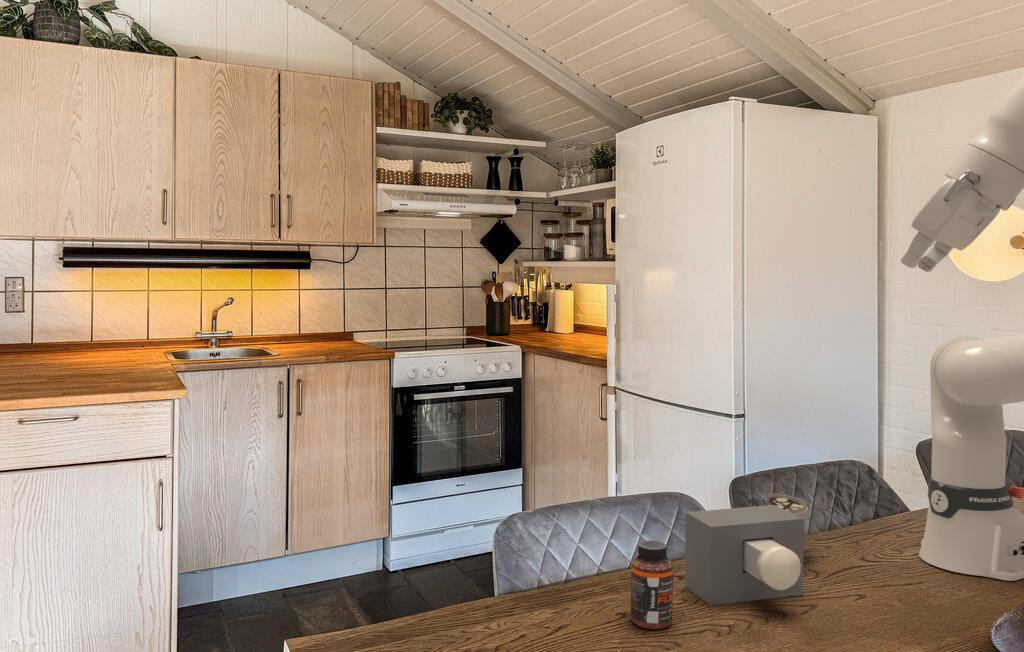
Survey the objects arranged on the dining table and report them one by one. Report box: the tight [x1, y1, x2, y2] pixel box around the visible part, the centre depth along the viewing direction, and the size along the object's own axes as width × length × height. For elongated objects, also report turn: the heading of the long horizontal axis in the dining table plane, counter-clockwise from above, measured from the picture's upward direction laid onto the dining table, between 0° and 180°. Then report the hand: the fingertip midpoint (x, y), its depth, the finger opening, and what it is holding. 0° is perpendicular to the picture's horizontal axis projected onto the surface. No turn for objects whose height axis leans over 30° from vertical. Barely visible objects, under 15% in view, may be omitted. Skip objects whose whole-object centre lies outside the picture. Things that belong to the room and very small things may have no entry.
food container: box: [767, 493, 810, 528], centre depth 138 cm, size 12×6×10 cm, turn 168°
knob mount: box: [684, 504, 805, 607], centre depth 124 cm, size 16×8×12 cm, turn 105°
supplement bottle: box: [630, 540, 674, 631], centre depth 112 cm, size 6×6×11 cm
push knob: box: [743, 537, 801, 590], centre depth 117 cm, size 6×8×6 cm
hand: (914, 267), depth 109 cm, fingers open, 8 cm apart
